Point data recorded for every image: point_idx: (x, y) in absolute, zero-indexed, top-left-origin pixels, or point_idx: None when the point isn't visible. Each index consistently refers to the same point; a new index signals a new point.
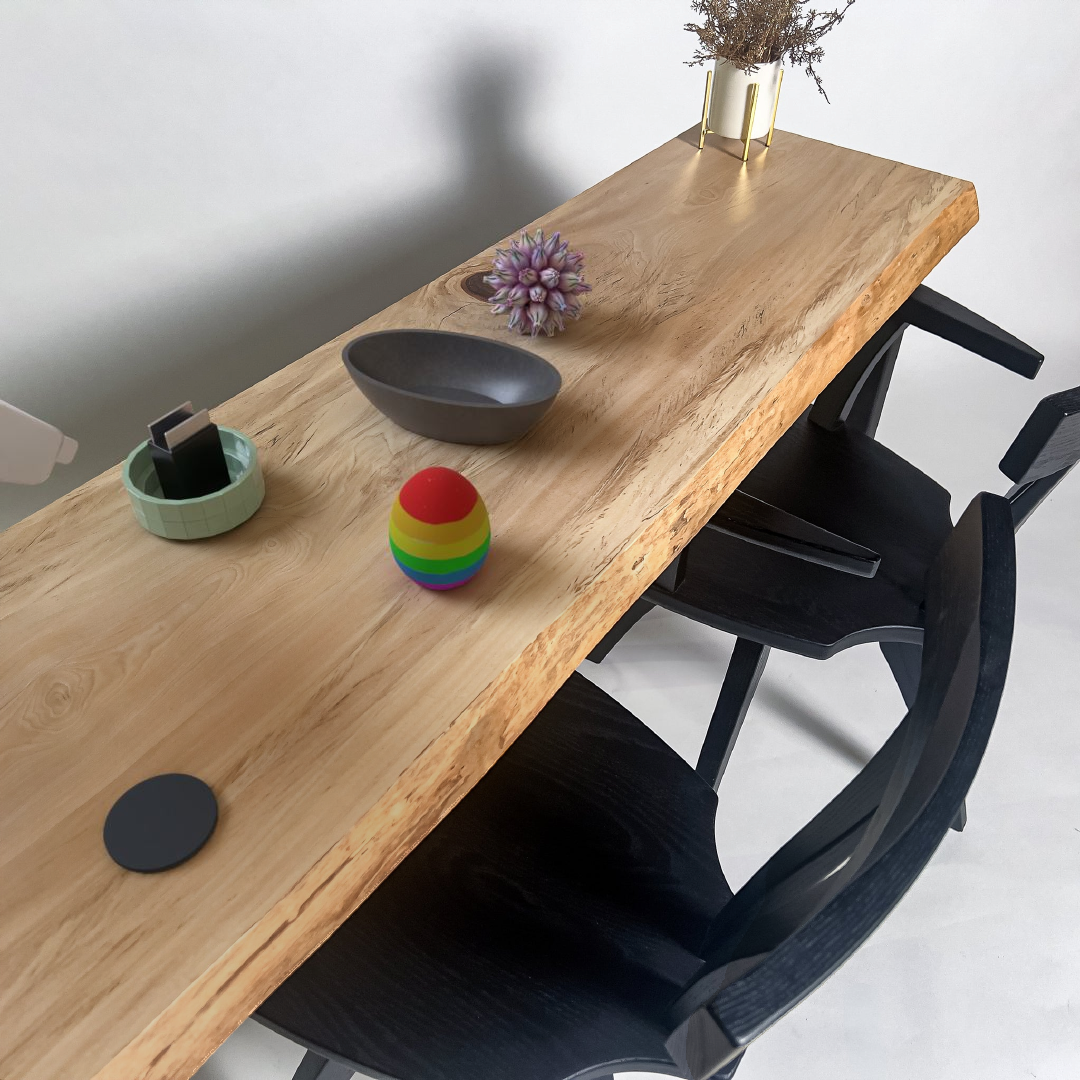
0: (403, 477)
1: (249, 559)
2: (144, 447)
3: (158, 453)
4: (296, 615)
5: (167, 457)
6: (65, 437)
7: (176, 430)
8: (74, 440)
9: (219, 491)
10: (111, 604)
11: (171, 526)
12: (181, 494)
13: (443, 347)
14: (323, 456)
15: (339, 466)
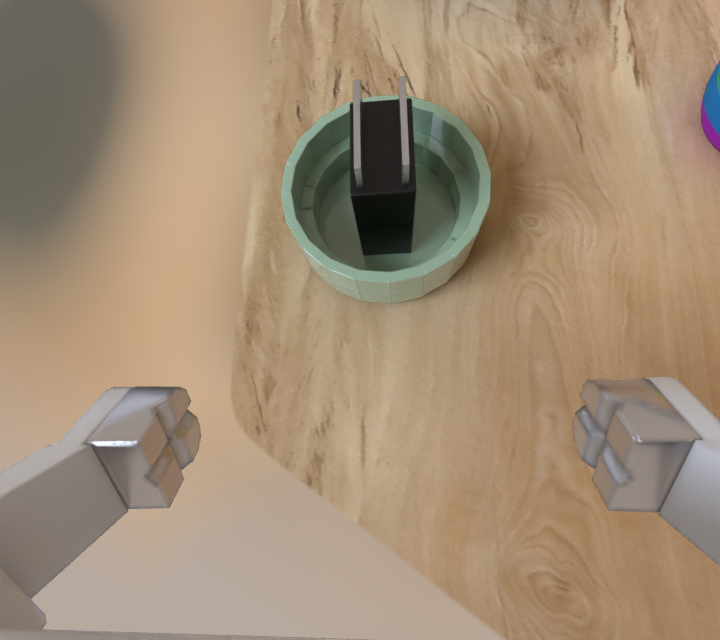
0: (562, 43)
1: (532, 258)
2: (293, 201)
3: (377, 202)
4: (675, 294)
5: (401, 200)
6: (710, 413)
7: (408, 145)
8: (680, 384)
9: (481, 201)
10: (456, 425)
11: (431, 284)
12: (407, 235)
13: None
14: (443, 74)
15: (476, 74)
